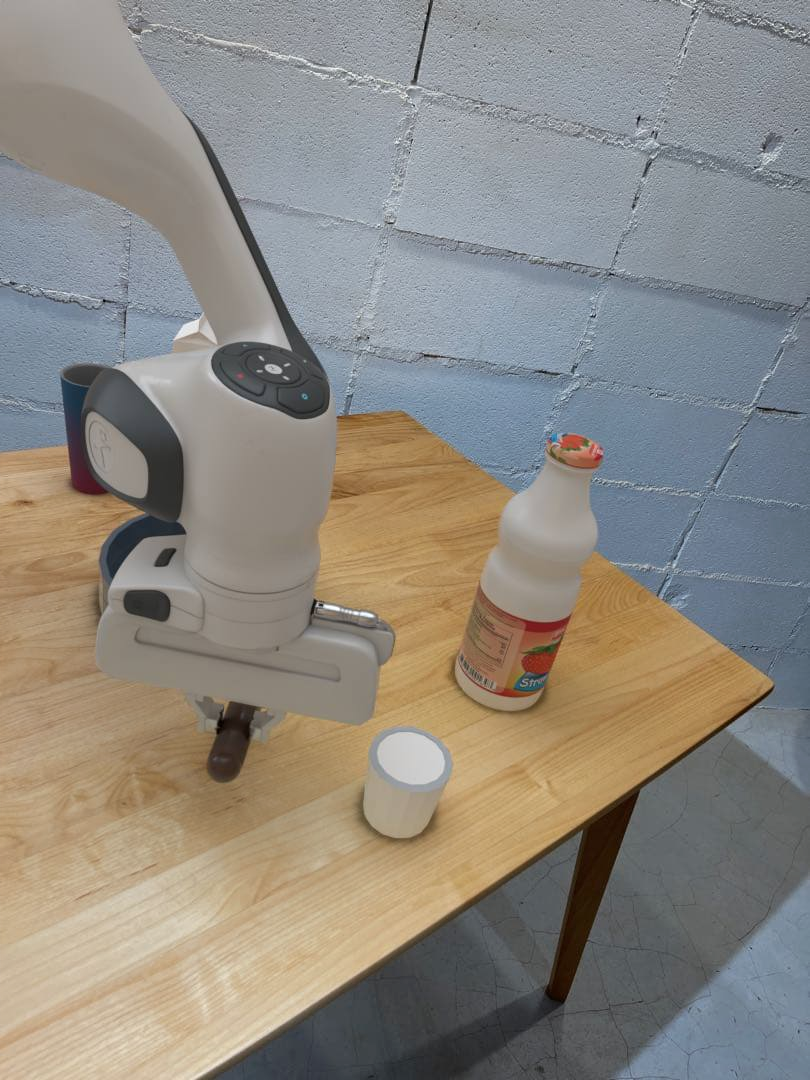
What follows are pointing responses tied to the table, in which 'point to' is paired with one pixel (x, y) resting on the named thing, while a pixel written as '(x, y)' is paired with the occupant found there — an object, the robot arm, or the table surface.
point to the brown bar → (231, 743)
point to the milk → (194, 336)
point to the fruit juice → (531, 580)
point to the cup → (78, 421)
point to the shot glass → (404, 780)
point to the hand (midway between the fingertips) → (234, 732)
